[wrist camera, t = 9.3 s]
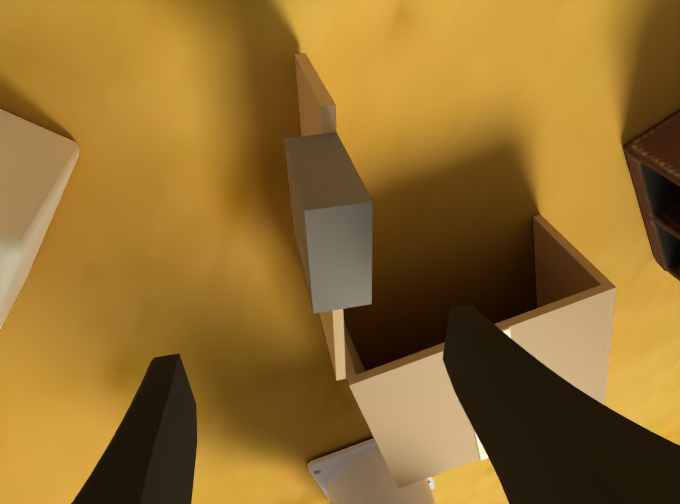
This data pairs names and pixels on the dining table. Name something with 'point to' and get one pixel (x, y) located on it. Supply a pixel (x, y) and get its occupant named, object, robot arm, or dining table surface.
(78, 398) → the dining table surface
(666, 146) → the letter holder
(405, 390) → the carton
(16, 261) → the medicine bottle
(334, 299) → the side flap
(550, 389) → the robot arm
